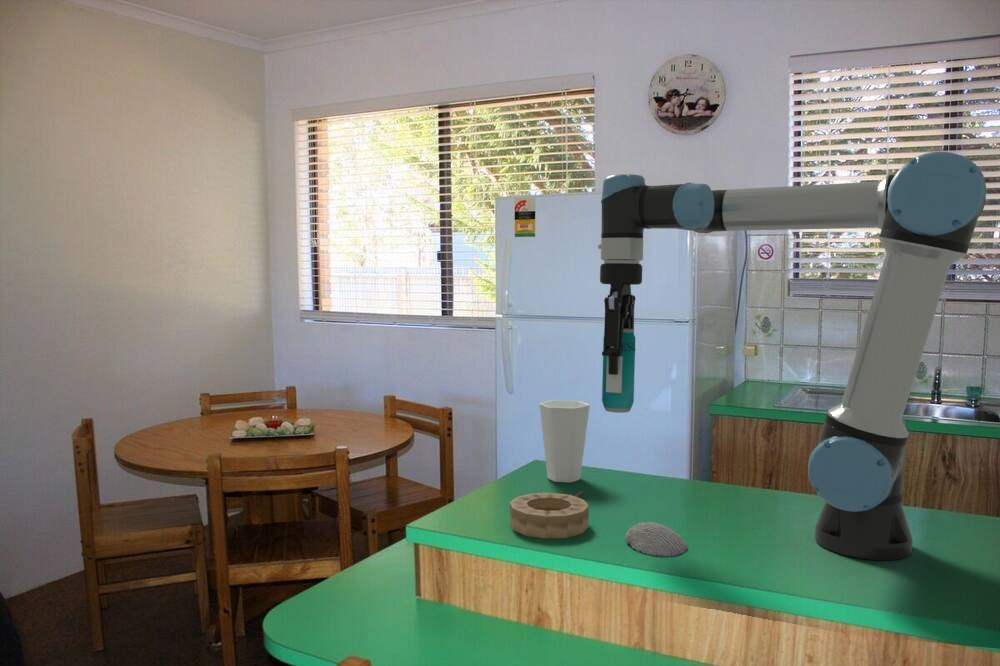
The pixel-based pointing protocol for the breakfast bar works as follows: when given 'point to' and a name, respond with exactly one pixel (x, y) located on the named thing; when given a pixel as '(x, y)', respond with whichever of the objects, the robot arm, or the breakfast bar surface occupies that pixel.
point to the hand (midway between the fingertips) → (618, 389)
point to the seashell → (655, 539)
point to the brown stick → (578, 495)
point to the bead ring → (549, 515)
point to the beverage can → (626, 398)
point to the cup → (564, 438)
